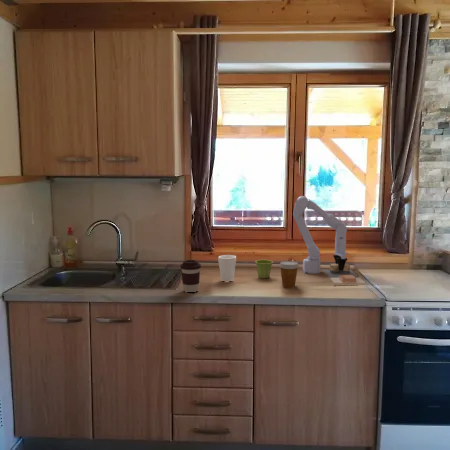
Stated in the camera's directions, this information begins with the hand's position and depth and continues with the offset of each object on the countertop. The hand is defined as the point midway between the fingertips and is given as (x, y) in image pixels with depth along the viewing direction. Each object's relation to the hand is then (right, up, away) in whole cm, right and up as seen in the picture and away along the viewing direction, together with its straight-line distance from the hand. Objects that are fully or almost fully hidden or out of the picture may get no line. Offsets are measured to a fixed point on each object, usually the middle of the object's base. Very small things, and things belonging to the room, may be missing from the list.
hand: (339, 269), depth 259 cm
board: (0, -4, -6) cm, 8 cm away
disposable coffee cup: (-31, -7, -20) cm, 38 cm away
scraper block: (0, -2, 0) cm, 2 cm away
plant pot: (-42, -4, -3) cm, 42 cm away
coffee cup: (-80, -8, -29) cm, 85 cm away
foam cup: (-62, -6, -10) cm, 63 cm away
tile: (0, -4, -16) cm, 17 cm away
